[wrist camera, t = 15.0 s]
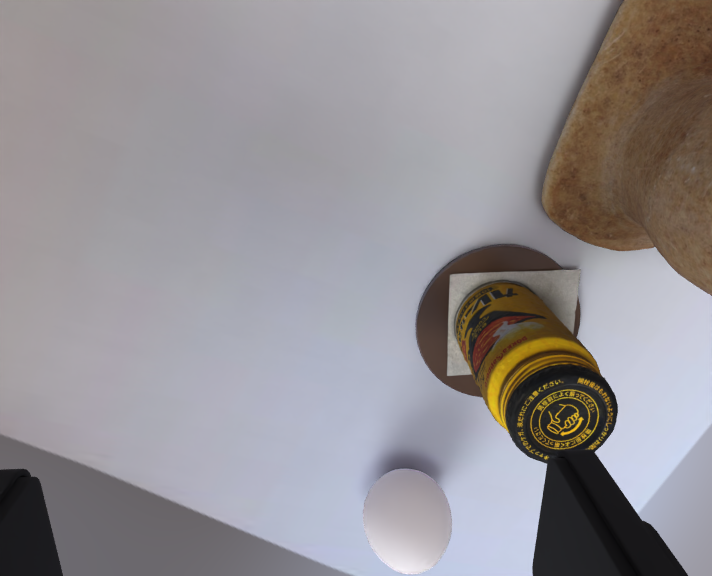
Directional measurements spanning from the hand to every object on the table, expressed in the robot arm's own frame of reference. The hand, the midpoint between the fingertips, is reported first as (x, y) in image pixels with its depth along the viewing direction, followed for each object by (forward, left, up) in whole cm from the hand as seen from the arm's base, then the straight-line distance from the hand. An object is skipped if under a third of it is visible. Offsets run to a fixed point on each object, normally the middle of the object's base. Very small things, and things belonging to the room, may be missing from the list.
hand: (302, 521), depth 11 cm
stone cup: (-5, +20, -27) cm, 34 cm away
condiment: (+8, +12, -27) cm, 30 cm away
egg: (+21, +6, -27) cm, 35 cm away
